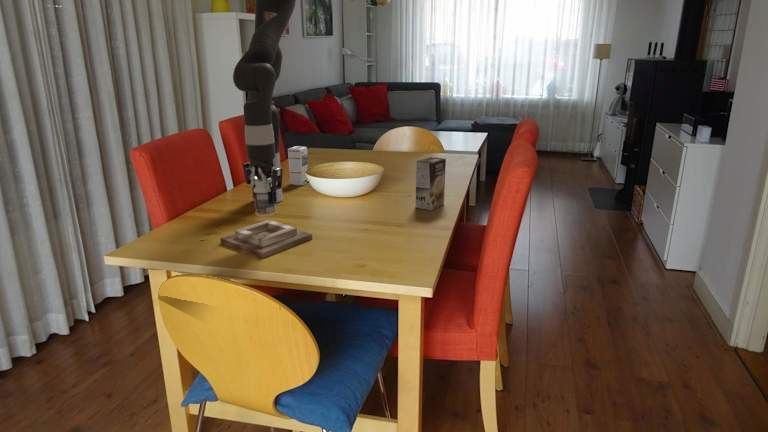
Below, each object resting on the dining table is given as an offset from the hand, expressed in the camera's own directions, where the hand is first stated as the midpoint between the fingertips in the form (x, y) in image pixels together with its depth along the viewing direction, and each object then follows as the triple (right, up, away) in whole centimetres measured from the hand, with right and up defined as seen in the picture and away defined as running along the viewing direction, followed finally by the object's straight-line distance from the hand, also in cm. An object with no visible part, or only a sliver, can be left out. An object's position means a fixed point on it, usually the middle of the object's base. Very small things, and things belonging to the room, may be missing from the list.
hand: (264, 201), depth 146 cm
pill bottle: (0, -4, +1) cm, 4 cm away
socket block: (0, -11, +4) cm, 12 cm away
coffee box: (+49, -1, +35) cm, 60 cm away
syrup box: (-1, +9, +64) cm, 65 cm away
